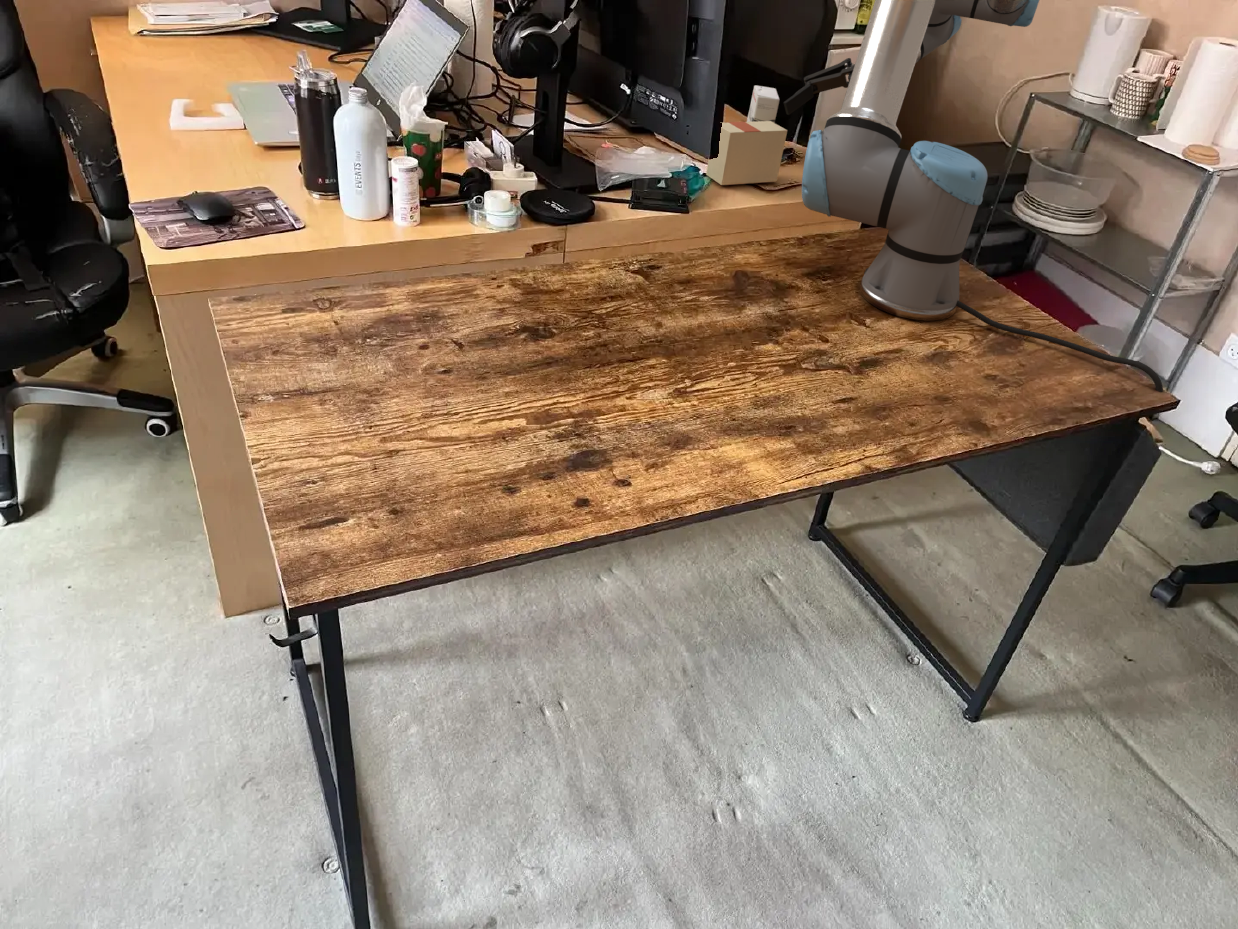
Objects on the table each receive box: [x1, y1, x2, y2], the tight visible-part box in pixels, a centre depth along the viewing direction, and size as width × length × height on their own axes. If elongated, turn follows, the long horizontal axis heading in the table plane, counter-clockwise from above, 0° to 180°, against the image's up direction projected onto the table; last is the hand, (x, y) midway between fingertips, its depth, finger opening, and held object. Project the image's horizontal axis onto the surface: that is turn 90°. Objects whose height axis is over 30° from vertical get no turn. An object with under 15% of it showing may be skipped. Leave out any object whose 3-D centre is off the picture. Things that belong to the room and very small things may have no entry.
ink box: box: [746, 84, 780, 124], centre depth 193 cm, size 8×5×12 cm, turn 179°
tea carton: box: [705, 121, 788, 186], centre depth 176 cm, size 13×6×10 cm, turn 116°
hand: (807, 118), depth 177 cm, fingers open, 13 cm apart
